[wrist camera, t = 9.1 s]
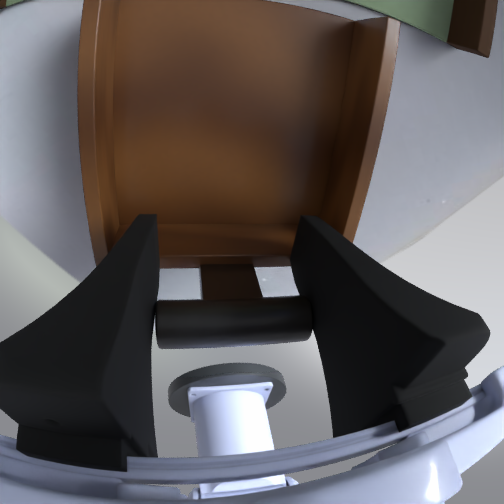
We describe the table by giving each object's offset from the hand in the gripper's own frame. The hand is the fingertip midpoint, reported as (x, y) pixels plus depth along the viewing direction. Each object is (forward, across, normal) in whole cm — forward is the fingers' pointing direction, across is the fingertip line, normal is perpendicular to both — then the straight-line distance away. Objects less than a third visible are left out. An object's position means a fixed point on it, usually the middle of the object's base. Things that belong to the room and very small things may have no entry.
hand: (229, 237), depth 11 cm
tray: (+3, 0, -3) cm, 4 cm away
